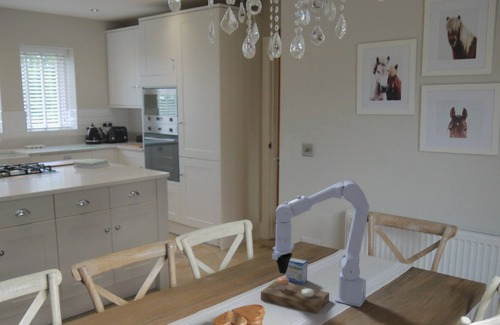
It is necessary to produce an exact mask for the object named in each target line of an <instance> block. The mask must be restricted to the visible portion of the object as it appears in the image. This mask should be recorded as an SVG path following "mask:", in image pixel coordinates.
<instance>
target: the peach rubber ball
mask: <svg viewBox="0 0 500 325" xmlns="http://www.w3.org/2000/svg"><path fill="white" fill-rule="evenodd" d="M276 281H277V284H279V290H282V291H284V290H286V285H288V284H290V281H289V279H288V278H287V277H286V276H279V277H277V278H276Z"/></svg>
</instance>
